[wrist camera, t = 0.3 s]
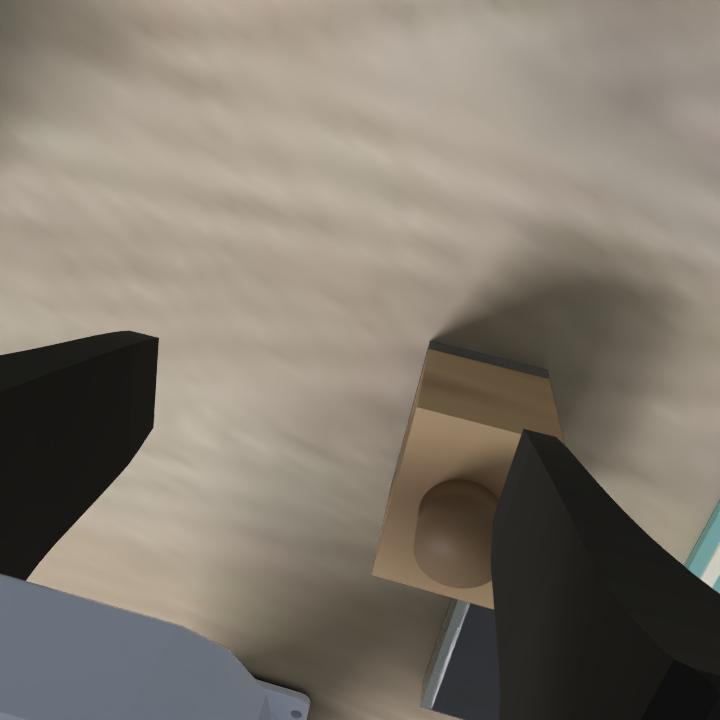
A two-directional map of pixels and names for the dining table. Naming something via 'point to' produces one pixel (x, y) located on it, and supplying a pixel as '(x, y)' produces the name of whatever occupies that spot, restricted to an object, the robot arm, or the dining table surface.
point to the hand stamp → (458, 469)
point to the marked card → (708, 553)
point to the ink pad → (464, 665)
